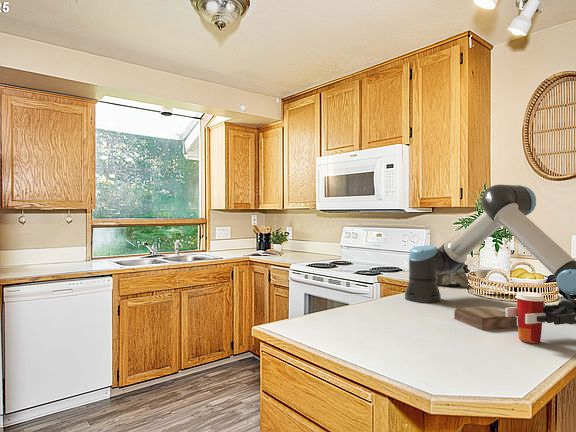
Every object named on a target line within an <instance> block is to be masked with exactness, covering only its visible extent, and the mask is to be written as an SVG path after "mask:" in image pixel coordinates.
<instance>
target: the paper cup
mask: <svg viewBox="0 0 576 432" xmlns="http://www.w3.org/2000/svg"><path fill="white" fill-rule="evenodd" d="M514 297H515V298H516V307H517V314H518V316H517V329H518V330H517V331H518V339H519V341H522V342H525V343H530V344H539V343H541V340H542V332H543V331H542V329H543V323H534V324H526V323H525V314H533V313H543V307H544V304H545V301H546V299H545V296H544V295H543V294H541V293H537V292H534V291H533V292H531V291H518V292H517V294H516V295H515V296H514Z"/></svg>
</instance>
